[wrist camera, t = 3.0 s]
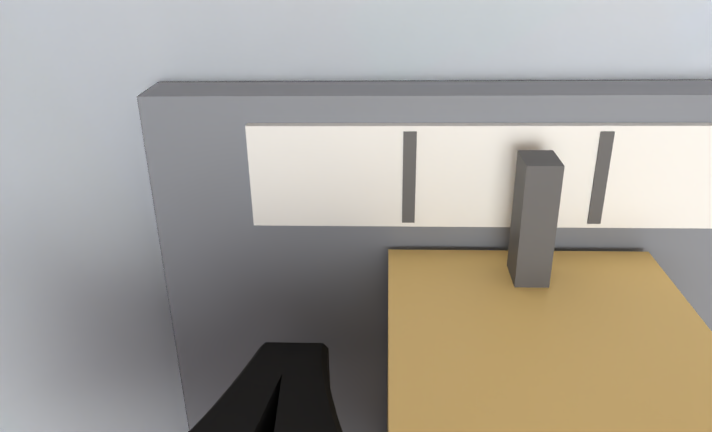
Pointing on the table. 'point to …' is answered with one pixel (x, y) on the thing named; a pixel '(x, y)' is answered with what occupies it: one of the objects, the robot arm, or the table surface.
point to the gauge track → (397, 203)
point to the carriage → (542, 333)
